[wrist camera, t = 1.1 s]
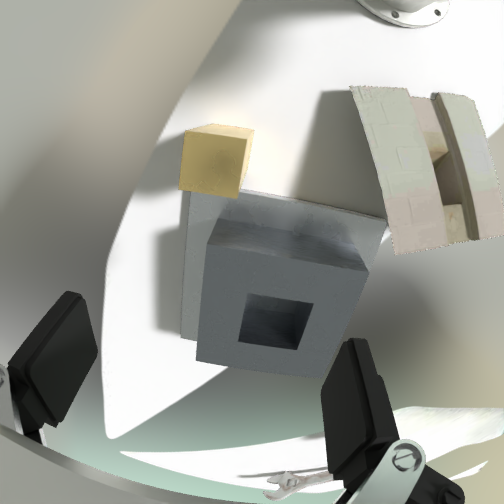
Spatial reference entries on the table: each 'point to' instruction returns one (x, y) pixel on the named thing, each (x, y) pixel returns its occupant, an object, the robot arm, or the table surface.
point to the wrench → (295, 483)
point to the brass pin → (215, 159)
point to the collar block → (273, 280)
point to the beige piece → (431, 167)
